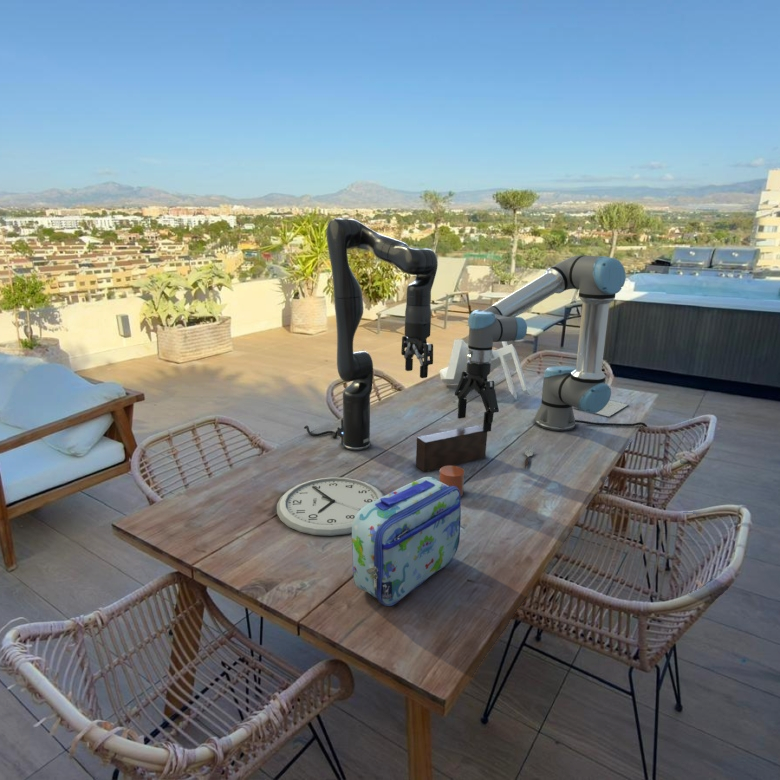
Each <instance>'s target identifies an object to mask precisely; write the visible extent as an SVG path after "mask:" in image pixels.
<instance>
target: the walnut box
mask: <svg viewBox="0 0 780 780" xmlns="http://www.w3.org/2000/svg"><path fill="white" fill-rule="evenodd" d="M487 441H488V432H483V426H481V425H479V424H477V425H472V426H467V427H461V428H456V429H451V430H446V431H441V432H436V433H430V434H426V435H421V436H417V437H416V448H415V449H416V452H415V453H416V454H415V467H416V468H418V469H419V470H420V471H422V472H423V473H427V472H430V471H435V470H440V468H441V467H444V466H458V465H461V464H464V463H465V464H466V463H470V462H473V461H478V460H482V459H485V458H486V456H487V455H486V454H487V453H486V452H487Z"/></svg>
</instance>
